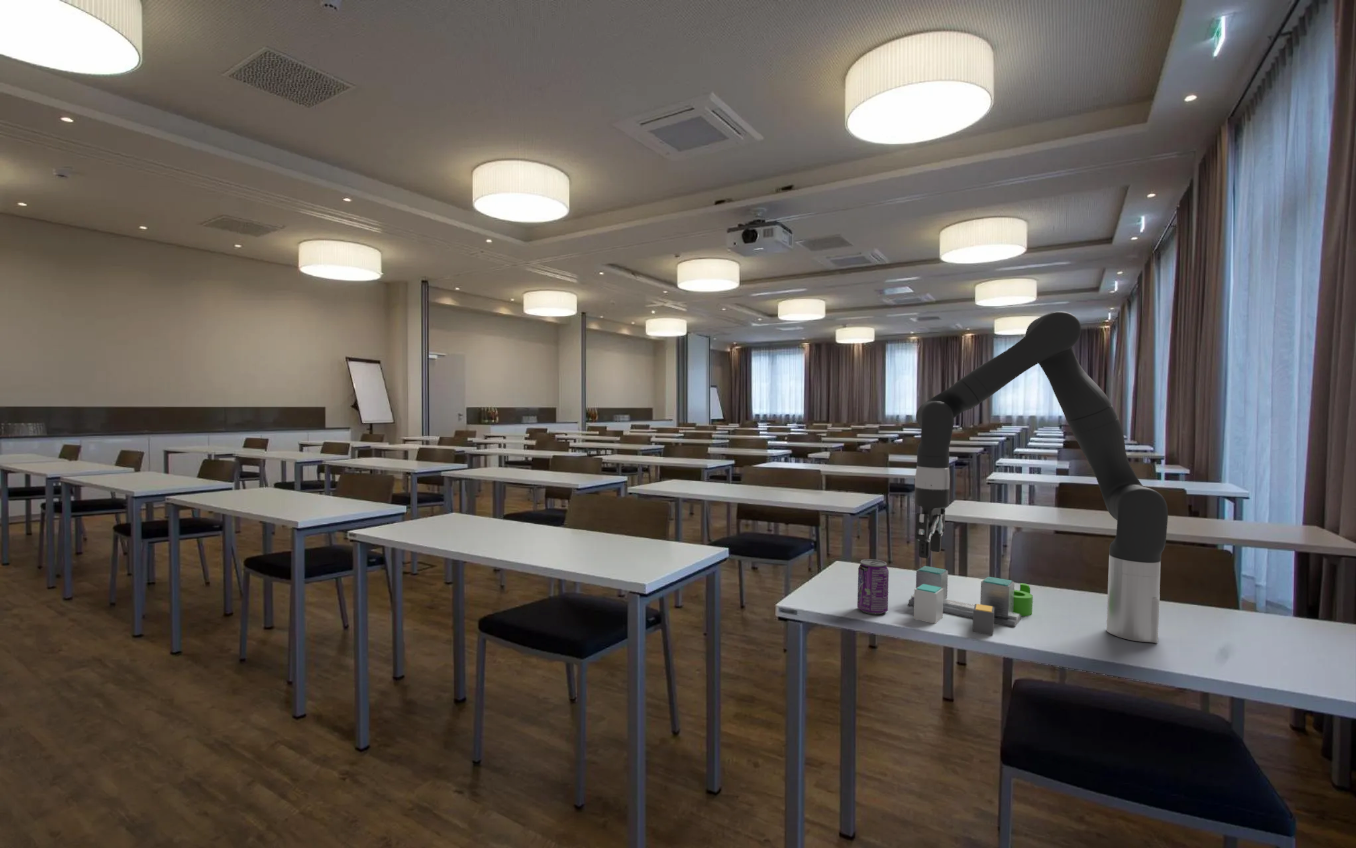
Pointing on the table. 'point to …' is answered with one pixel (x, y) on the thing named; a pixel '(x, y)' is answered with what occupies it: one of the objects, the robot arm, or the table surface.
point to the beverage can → (873, 586)
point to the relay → (983, 619)
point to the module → (928, 603)
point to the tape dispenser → (1023, 600)
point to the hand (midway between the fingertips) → (929, 554)
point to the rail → (992, 594)
